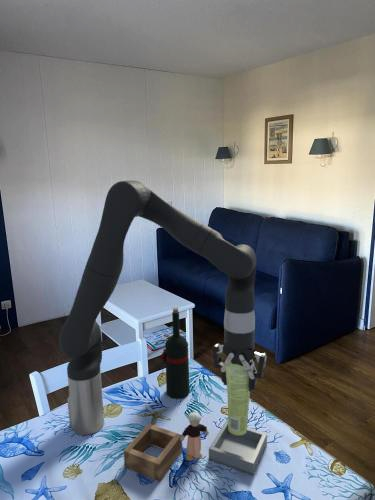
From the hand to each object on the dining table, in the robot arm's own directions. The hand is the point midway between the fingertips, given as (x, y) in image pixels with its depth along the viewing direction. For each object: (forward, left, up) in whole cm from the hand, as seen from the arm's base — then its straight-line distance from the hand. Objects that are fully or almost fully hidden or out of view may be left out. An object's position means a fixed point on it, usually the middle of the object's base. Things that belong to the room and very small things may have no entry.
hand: (238, 386), depth 97 cm
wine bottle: (-29, +17, -20) cm, 39 cm away
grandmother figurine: (-10, -6, -20) cm, 23 cm away
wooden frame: (-19, -12, -19) cm, 30 cm away
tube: (0, 0, -13) cm, 13 cm away
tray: (0, 0, -19) cm, 19 cm away
